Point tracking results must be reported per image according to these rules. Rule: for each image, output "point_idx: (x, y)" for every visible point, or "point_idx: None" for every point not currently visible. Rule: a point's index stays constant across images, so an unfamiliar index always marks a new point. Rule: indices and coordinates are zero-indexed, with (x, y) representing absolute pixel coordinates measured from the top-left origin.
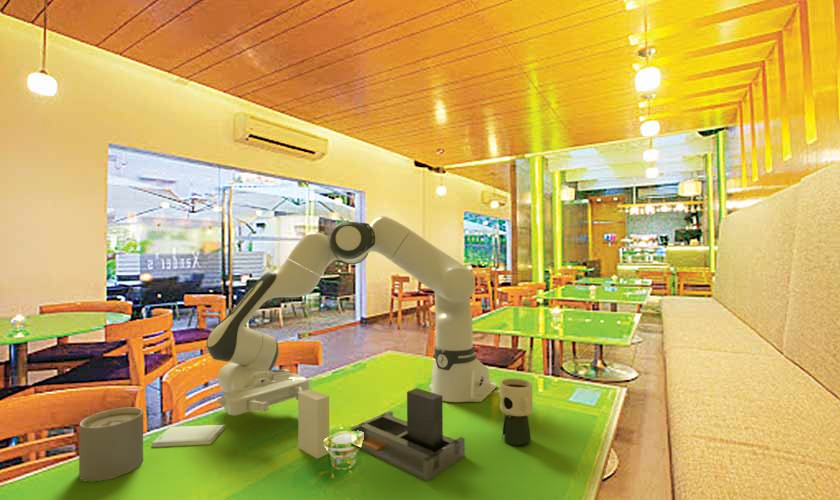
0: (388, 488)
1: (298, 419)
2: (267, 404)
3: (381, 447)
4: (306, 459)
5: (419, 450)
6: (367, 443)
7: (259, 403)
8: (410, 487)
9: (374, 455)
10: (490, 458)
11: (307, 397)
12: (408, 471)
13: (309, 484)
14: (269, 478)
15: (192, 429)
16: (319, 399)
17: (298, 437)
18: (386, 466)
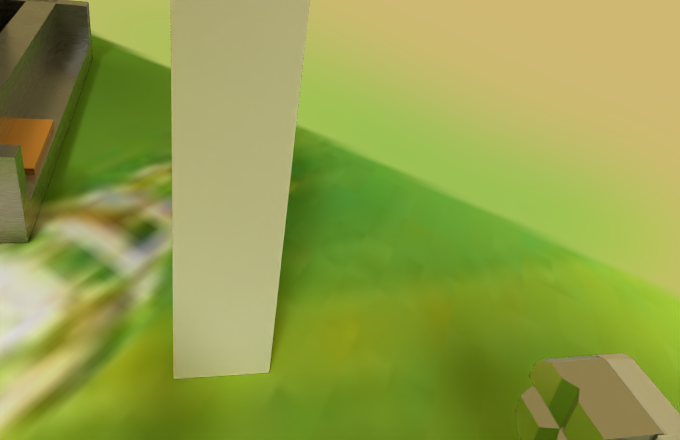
0: None
1: (286, 210)
2: (551, 358)
3: (27, 120)
4: (290, 268)
5: (42, 14)
6: (34, 150)
7: (675, 416)
8: (142, 67)
9: (58, 153)
10: None
11: None
12: (84, 80)
13: (352, 174)
14: (471, 254)
15: None
16: None
17: (274, 319)
18: (96, 115)
